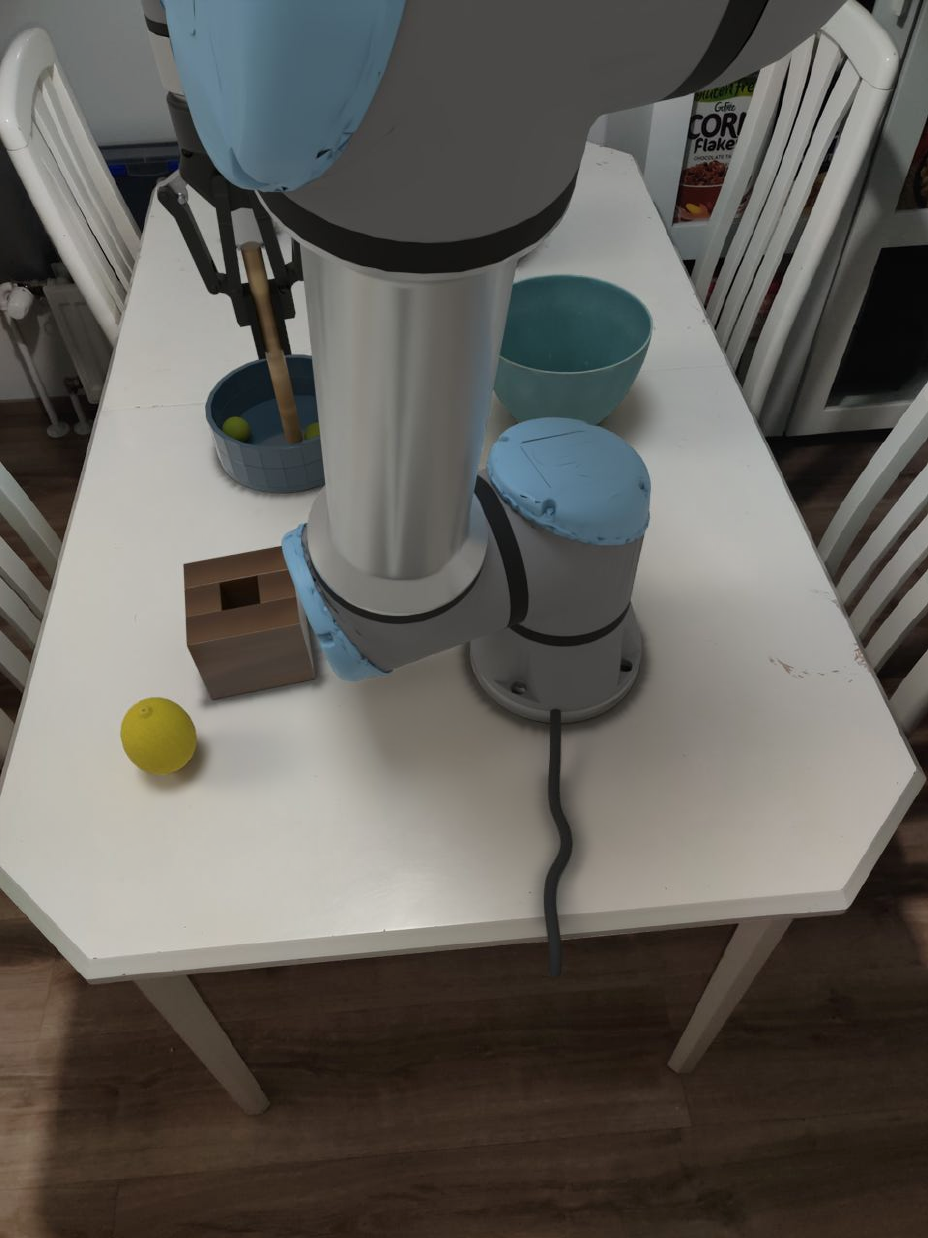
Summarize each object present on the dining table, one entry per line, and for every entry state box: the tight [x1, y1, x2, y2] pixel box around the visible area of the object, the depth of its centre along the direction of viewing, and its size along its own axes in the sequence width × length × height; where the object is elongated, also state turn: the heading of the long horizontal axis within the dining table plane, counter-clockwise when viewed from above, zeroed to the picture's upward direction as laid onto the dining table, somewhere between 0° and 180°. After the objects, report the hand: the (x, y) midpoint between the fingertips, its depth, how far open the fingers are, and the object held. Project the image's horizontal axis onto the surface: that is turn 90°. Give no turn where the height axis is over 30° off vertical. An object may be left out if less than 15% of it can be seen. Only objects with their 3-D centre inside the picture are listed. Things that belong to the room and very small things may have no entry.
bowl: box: [204, 353, 325, 494], centre depth 95 cm, size 16×16×6 cm
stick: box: [239, 241, 303, 444], centre depth 86 cm, size 2×2×22 cm
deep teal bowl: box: [493, 273, 654, 426], centre depth 94 cm, size 18×18×12 cm
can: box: [231, 208, 276, 248], centre depth 121 cm, size 8×8×12 cm
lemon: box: [119, 696, 198, 776], centre depth 69 cm, size 6×6×8 cm
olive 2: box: [304, 422, 320, 440], centre depth 94 cm, size 3×3×3 cm
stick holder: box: [182, 545, 316, 700], centre depth 76 cm, size 9×9×8 cm
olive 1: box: [222, 417, 250, 443], centre depth 95 cm, size 3×3×3 cm
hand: (273, 348), depth 85 cm, fingers closed on stick, 2 cm apart
